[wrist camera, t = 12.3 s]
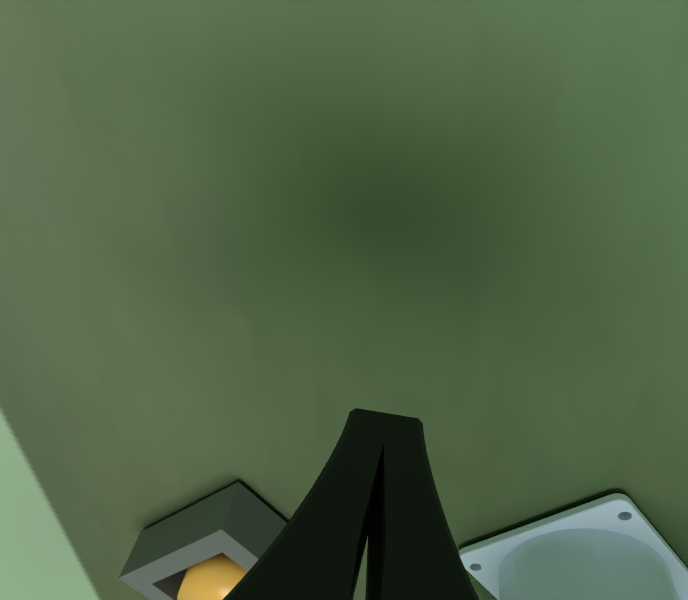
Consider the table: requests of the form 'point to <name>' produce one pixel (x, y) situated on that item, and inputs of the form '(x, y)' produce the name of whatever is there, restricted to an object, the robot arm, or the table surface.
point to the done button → (211, 579)
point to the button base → (201, 540)
